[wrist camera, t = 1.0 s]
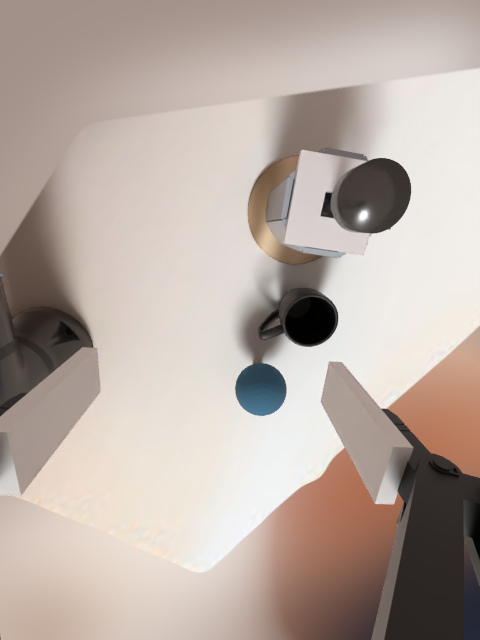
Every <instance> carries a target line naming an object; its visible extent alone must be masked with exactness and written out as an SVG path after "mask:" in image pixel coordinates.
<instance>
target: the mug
mask: <svg viewBox="0 0 480 640" xmlns="http://www.w3.org/2000/svg"><path fill="white" fill-rule="evenodd" d="M278 318H279V319H280V324H281V325H279V326H276V327H274V328H271V329H269V330H266V329H267V328H268V327H269V326H270V325H271V324H272V323H273V322H274V321H275V320H276V319H278ZM337 324H338V312H337V309H336V307H335V305H334V304H333V302H332V301H331V300H330V299H328V298H327V297H326V296H325V295H323V294H322V293H320V292H318V291H316V290H313V289H309V288H298V289H293V290H291V291H289V292H287V293H286V294H285V295H284V297H283V299H282V301H281V303H280V307H279V309H278V310H276V311H274V312H273V313H271V314H270V315H269V316H268V317H267V318H266V319H265V320H264V322H263V323H262V324H261V325H260V326H259V328H258V335H259V338H260V339H261V340H267V339H270V338H273V337H276V336H278V335H280V334H283V333H285V334H286V336H287V337H288V338H289V340H291V341H292V342H293V343H295V344H297V345H300V346H305V347H312V346H316V345H319V344H321V343H323V342H325V341H326V340H328V339H329V338H330V337H331V336H332V334H333V333H334V331H335V330H336V327H337Z"/></svg>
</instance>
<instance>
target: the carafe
mask: <svg viewBox="0 0 480 640" xmlns="http://www.w3.org/2000/svg"><path fill="white" fill-rule="evenodd" d="M363 156H364V155H363V154H357V153H351V152H346V151H340V150H334V149H329V148H324V149H322V150H320V151H319V152H312V151H307V150H301V151H300V153H299V159H298V164H297V169H296V170H295V171H294V172H293V173H291V174H290V175H289V176H288V177H287V178H286V179H285V180H283V181H282V182H281V183H280V184H279V185H278V186H277V187H276V188H275V189H273V190H272V191H271V193H270V195H269V201H268V205H267V211H266V219H265V221H267V222H266V224H267V225H268V227H269V228H270V230H271V232H272V234H273V235H274V236H275V237H276V239H277V240H278V242H279V243H280V244H282V245H284V246H287V247H289V248H292V249H295V250H297V251H300V252H302V253H308V254H315V255H322V256H328V257H335V258H338V257H341V256H343V255H344V254H345V253H351V254H358V255H364V252H365V249H366V245H367V242H368V238H369V236H371V233H355V232H350V231H347V230H345V229H343V228H342V227H341V226H340V225H339V224H338V223H337V222H336V220H335V219H334V218H329V217H322V216H321V211H322V206H323V202H324V197H325V193H326V192H327V193H333V190H334V187H335V185H336V184H337V182H338V181H339V179H340V178H341V177H342V176H343V175H344V174H345V173H346V172H348V171H349V170H351V169H353V168H355V167H357V166H359V165H361V164H363V163H365V162H367V161H368V160H367V158H366V156H364V157H363ZM389 229H391V227H390V228H389Z"/></svg>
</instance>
